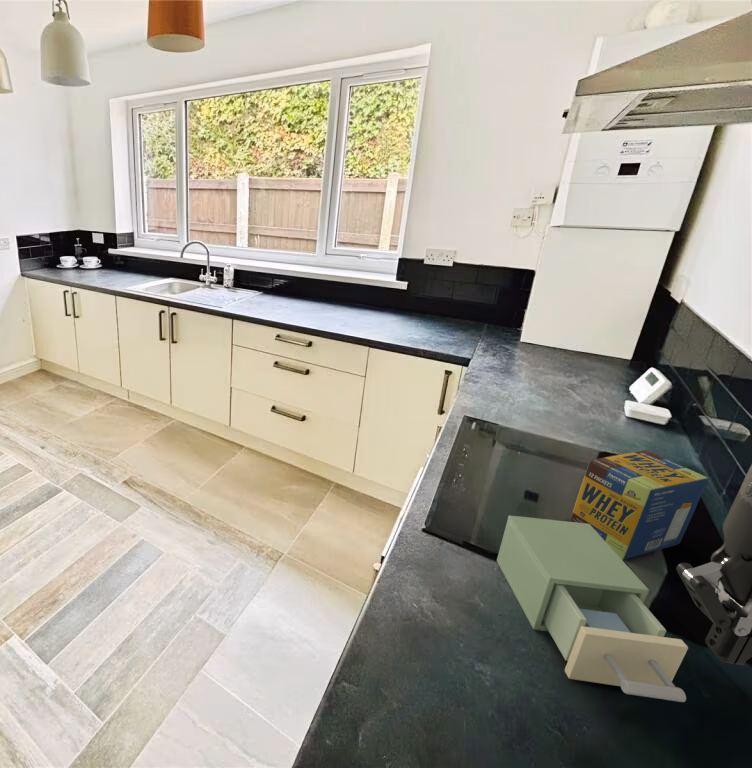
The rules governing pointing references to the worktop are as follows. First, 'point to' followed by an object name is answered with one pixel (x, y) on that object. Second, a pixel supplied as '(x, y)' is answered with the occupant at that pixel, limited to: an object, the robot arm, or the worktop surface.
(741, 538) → the robot arm
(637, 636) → the drawer
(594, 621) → the block
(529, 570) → the cabinet
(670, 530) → the protein box
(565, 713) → the worktop surface
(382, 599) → the worktop surface
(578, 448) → the worktop surface
